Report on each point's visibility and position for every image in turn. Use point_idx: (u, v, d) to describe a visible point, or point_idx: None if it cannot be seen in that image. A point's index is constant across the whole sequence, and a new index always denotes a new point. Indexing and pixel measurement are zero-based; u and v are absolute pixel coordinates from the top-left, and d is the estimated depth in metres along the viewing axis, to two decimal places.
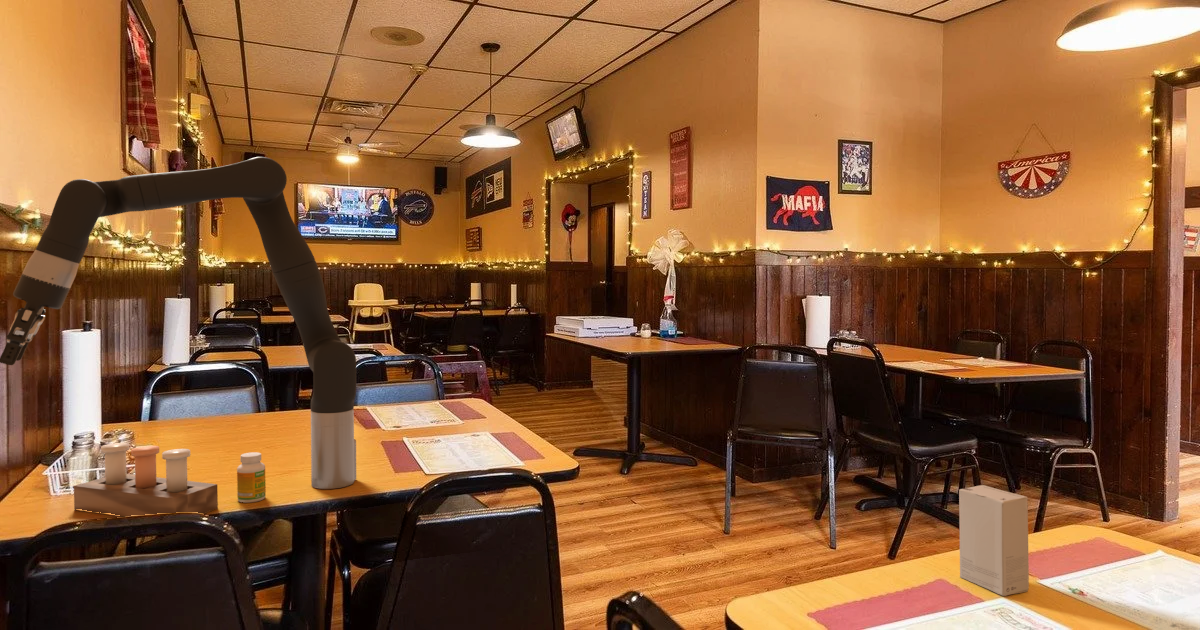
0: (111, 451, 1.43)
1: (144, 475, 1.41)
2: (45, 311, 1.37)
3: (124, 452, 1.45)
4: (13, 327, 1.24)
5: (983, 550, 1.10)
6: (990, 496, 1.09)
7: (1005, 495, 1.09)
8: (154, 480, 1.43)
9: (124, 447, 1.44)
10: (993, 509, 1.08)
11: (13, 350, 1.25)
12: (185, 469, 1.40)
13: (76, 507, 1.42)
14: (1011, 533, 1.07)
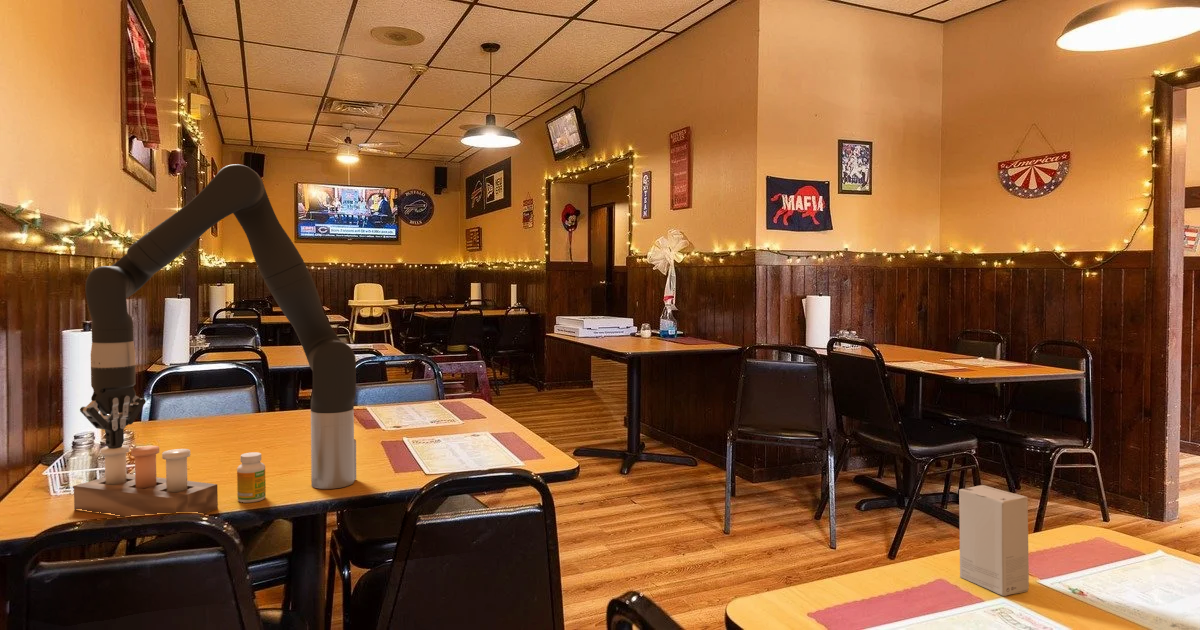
0: (111, 453, 1.43)
1: (144, 475, 1.41)
2: (144, 400, 1.49)
3: (124, 454, 1.45)
4: (91, 422, 1.41)
5: (983, 550, 1.10)
6: (990, 496, 1.09)
7: (1005, 495, 1.09)
8: (154, 480, 1.43)
9: (124, 449, 1.44)
10: (993, 509, 1.08)
11: (109, 436, 1.43)
12: (185, 469, 1.40)
13: (76, 507, 1.42)
14: (1011, 533, 1.07)
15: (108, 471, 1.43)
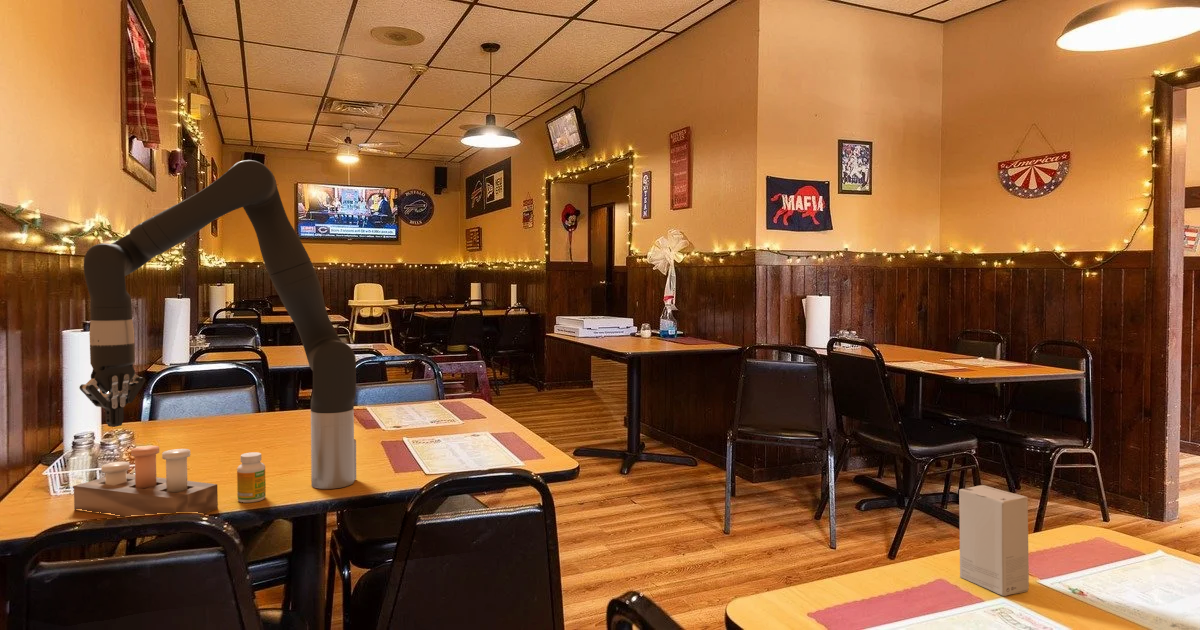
0: (111, 471, 1.43)
1: (144, 475, 1.41)
2: (143, 379, 1.49)
3: (124, 471, 1.45)
4: (90, 400, 1.41)
5: (983, 550, 1.10)
6: (990, 496, 1.09)
7: (1005, 495, 1.09)
8: (154, 480, 1.43)
9: (124, 466, 1.44)
10: (993, 509, 1.08)
11: (109, 414, 1.43)
12: (185, 469, 1.40)
13: (76, 507, 1.42)
14: (1012, 533, 1.07)
15: None
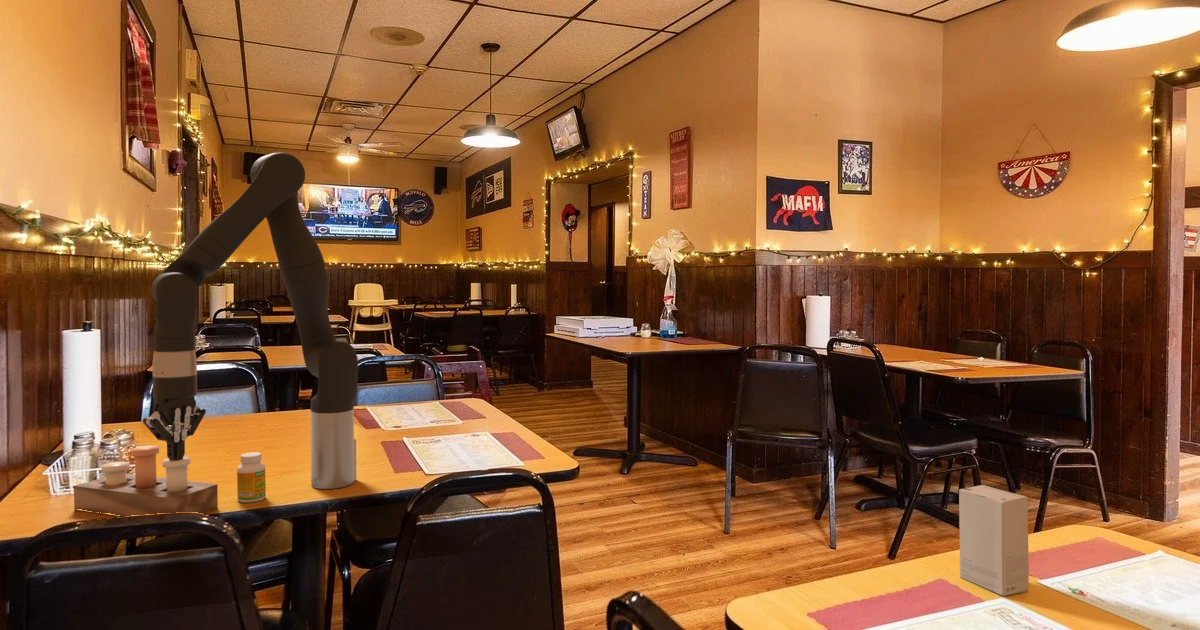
0: (111, 471, 1.43)
1: (144, 475, 1.41)
2: (204, 410, 1.45)
3: (124, 471, 1.45)
4: (153, 433, 1.36)
5: (983, 550, 1.10)
6: (990, 496, 1.09)
7: (1005, 495, 1.09)
8: (154, 480, 1.43)
9: (124, 466, 1.44)
10: (993, 509, 1.08)
11: (171, 447, 1.39)
12: (185, 477, 1.40)
13: (76, 507, 1.42)
14: (1011, 533, 1.07)
15: None
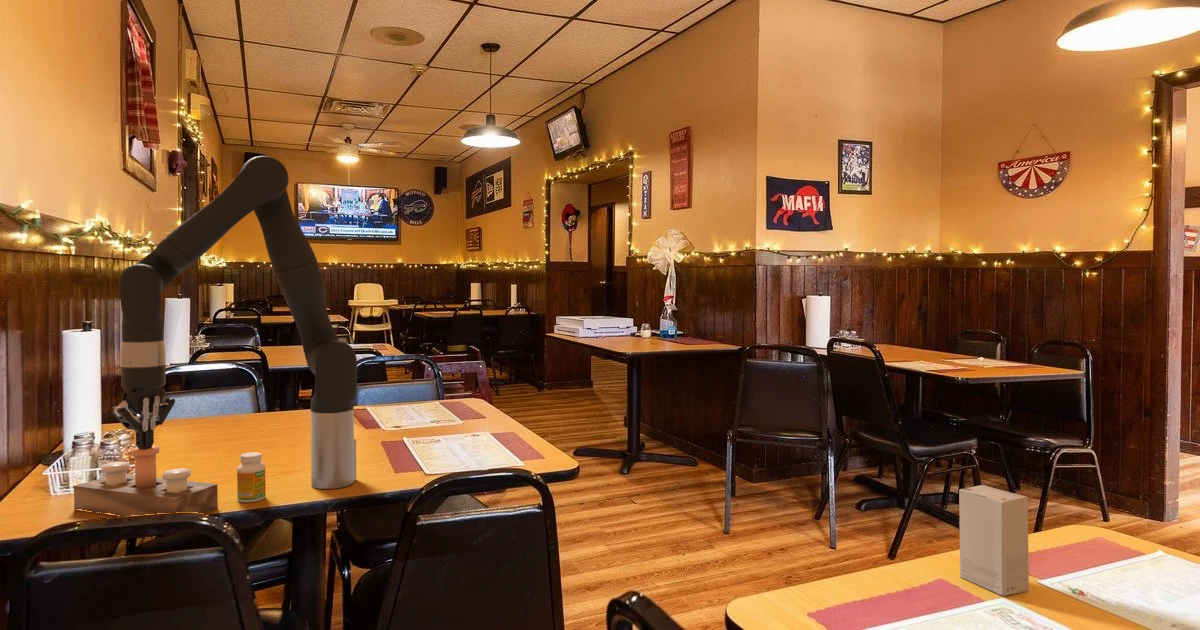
0: (111, 471, 1.43)
1: (144, 475, 1.41)
2: (173, 400, 1.47)
3: (124, 471, 1.45)
4: (121, 422, 1.38)
5: (983, 550, 1.10)
6: (990, 496, 1.09)
7: (1005, 495, 1.09)
8: (154, 480, 1.43)
9: (124, 466, 1.44)
10: (993, 509, 1.08)
11: (139, 436, 1.41)
12: (185, 489, 1.41)
13: (76, 507, 1.42)
14: (1011, 533, 1.07)
15: None
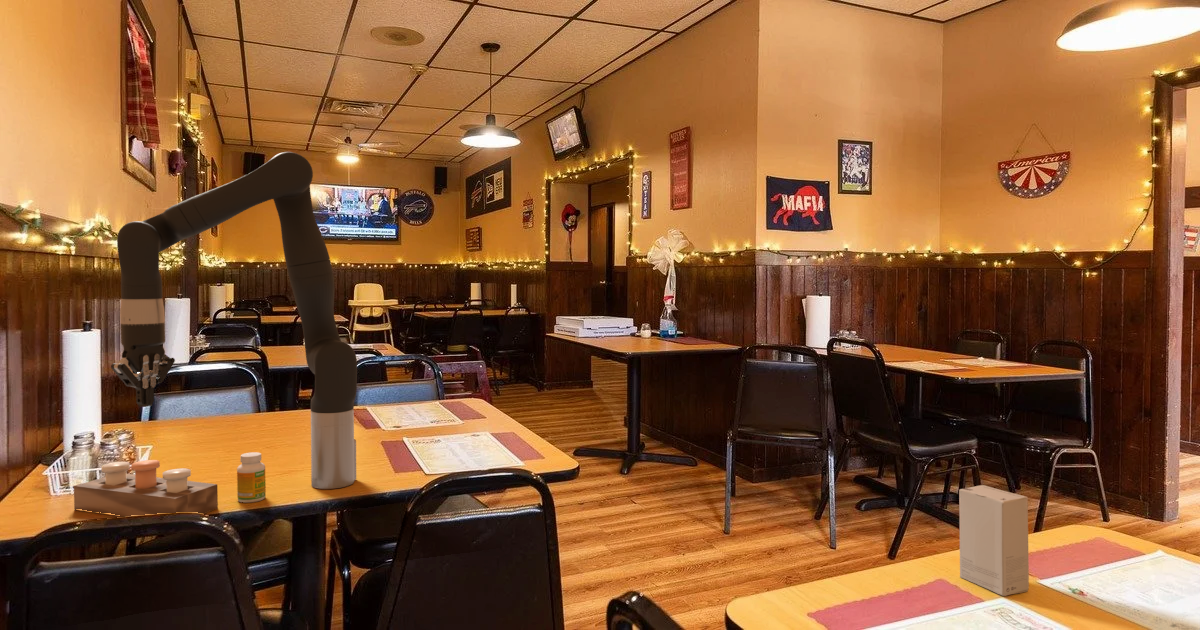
0: (111, 471, 1.43)
1: None
2: (173, 359, 1.48)
3: (124, 471, 1.45)
4: (121, 379, 1.39)
5: (983, 550, 1.10)
6: (990, 496, 1.09)
7: (1005, 495, 1.09)
8: None
9: (124, 466, 1.44)
10: (993, 509, 1.08)
11: (139, 394, 1.42)
12: (185, 489, 1.41)
13: (76, 507, 1.42)
14: (1012, 533, 1.07)
15: None
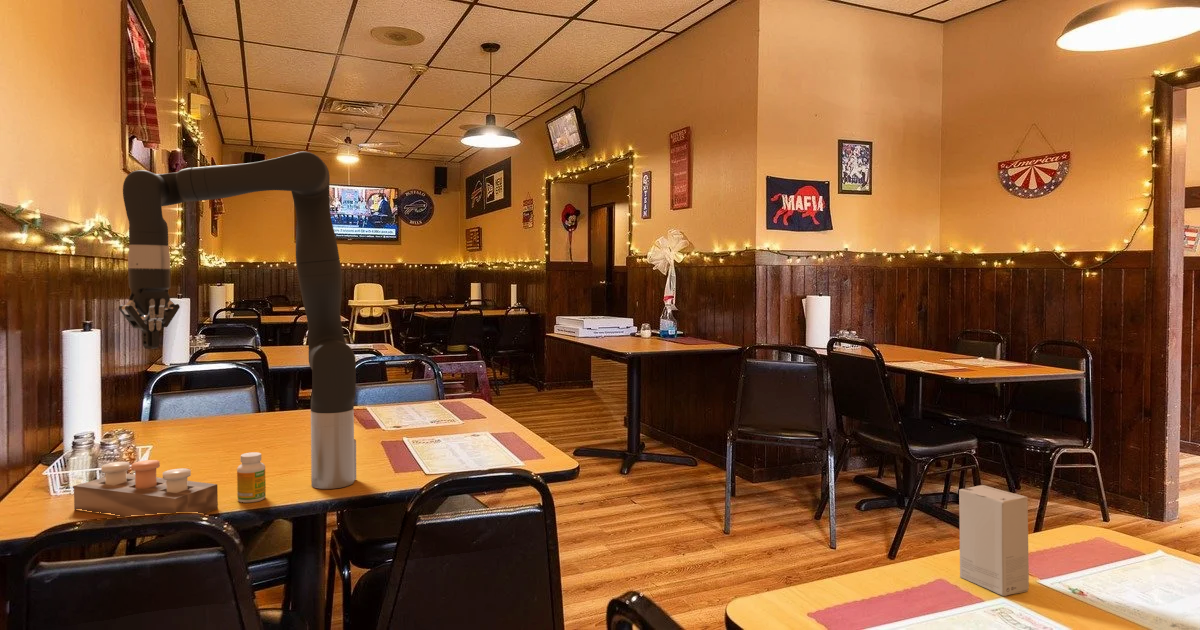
0: (111, 471, 1.43)
1: None
2: (178, 305, 1.54)
3: (124, 471, 1.45)
4: (129, 321, 1.46)
5: (983, 550, 1.10)
6: (990, 496, 1.09)
7: (1005, 495, 1.09)
8: None
9: (124, 466, 1.44)
10: (993, 509, 1.08)
11: (146, 336, 1.48)
12: (185, 489, 1.41)
13: (76, 507, 1.42)
14: (1011, 533, 1.07)
15: None
